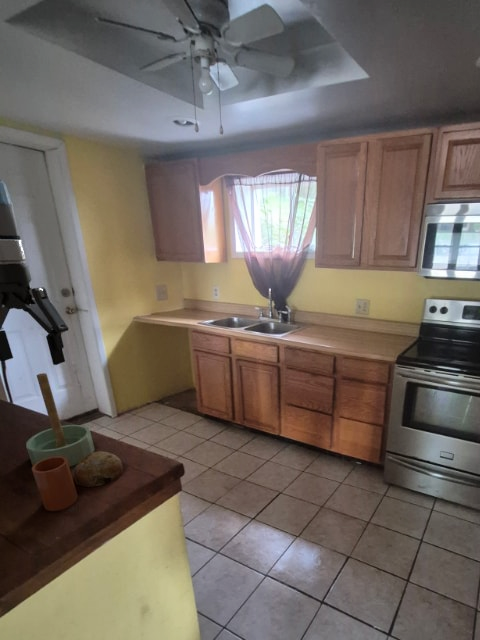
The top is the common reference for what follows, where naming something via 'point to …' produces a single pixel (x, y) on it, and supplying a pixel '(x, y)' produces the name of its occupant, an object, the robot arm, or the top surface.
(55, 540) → the top surface
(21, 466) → the top surface
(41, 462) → the crock
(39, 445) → the bowl
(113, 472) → the bread roll
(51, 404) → the stirring stick
